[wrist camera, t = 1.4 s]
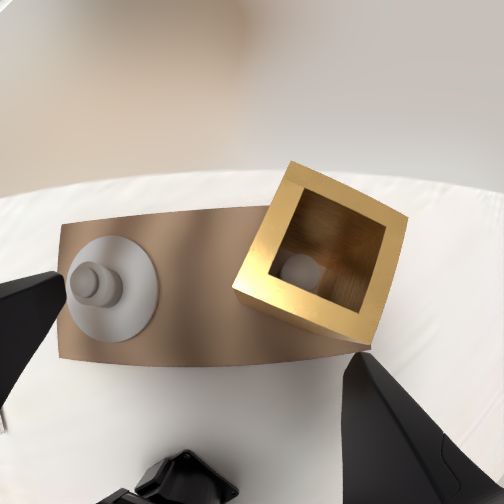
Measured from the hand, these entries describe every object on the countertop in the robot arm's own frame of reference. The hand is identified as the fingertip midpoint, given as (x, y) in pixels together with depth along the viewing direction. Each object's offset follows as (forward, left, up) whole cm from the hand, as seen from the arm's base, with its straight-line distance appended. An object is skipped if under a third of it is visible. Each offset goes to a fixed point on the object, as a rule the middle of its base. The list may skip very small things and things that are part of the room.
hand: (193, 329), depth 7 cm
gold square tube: (-1, -6, -13) cm, 14 cm away
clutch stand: (+3, 0, -14) cm, 15 cm away
